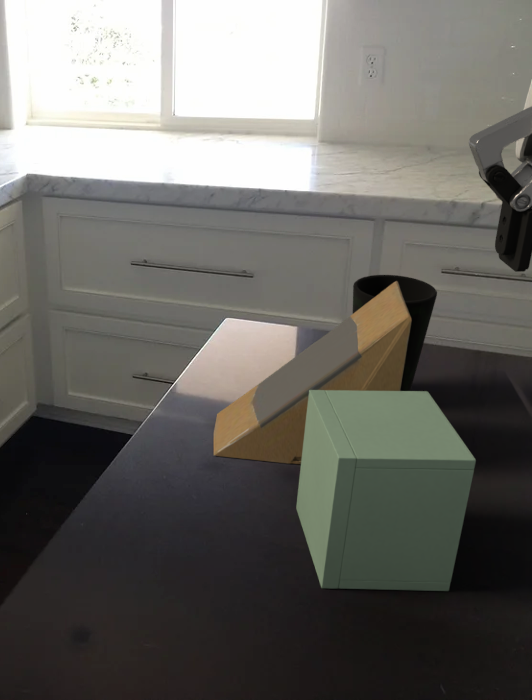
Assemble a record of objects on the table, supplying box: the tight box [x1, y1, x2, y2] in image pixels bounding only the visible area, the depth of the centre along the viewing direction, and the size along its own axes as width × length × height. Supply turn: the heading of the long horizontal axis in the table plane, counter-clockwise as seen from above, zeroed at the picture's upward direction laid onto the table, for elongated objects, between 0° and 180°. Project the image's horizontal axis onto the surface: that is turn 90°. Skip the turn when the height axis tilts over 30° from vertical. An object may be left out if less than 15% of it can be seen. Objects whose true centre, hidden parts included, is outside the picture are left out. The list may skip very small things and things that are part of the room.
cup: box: [352, 274, 438, 391], centre depth 86 cm, size 8×8×12 cm
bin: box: [295, 390, 477, 592], centre depth 64 cm, size 9×10×11 cm
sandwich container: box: [213, 281, 412, 465], centre depth 78 cm, size 9×15×15 cm, turn 78°
